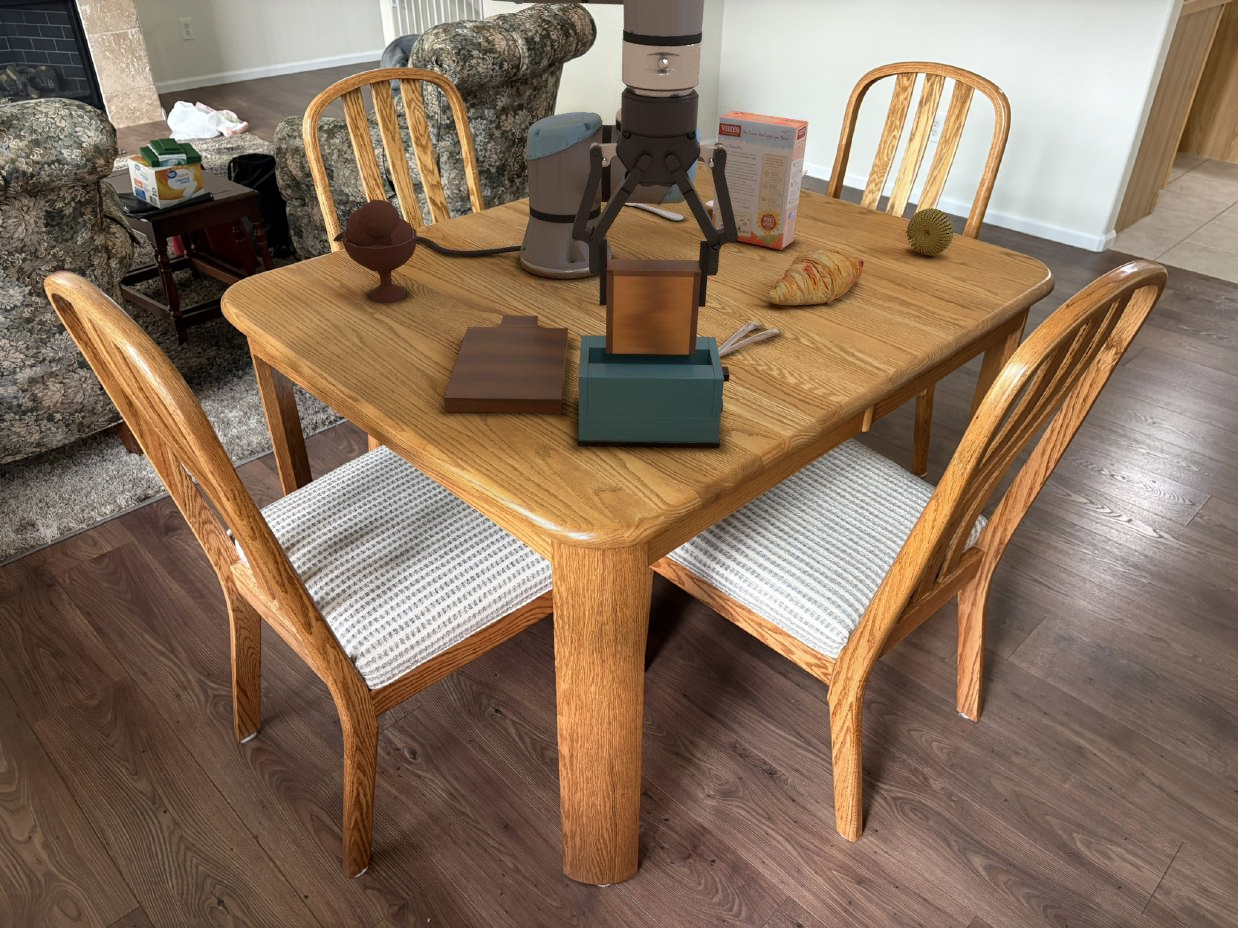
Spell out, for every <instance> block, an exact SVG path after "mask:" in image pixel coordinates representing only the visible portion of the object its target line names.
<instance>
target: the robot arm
mask: <svg viewBox="0 0 1238 928" xmlns="http://www.w3.org/2000/svg"><path fill="white" fill-rule="evenodd" d="M493 1H494V2H503V3H504V2H507V3H514V4H516V5H523V4H576V5H577V4H581V5H582V4H583V5H584V4H585V5H586V4H589V5H614V6H615V5H616V6H617V5H618V6H620V5H622V6H623V29H622V43H621V44H622V45H621V82H622V83H623V84H624V85H625V88H624V89H623V90H622V92H621V96H620V97H621V102H620V104H621V107H620V108H619V109H618V110H617V111H616V113H615V124H603V123H604V122H603V118H602V117H601V115H600V114H599V113H597V112H587V111H574V112H573V111H572V112H564V113H559V114H554V115H549V116H546V117H544V118H542V119H539V120H537V121H535V122H534V123H533V124H531V126H529V128H528V131H527V133H526V134H527V135H526V152H525V159H526V160H527V178H528V179H527V183H528V209H529V210H528V211H529V214H528V215H529V216H528V222H527V225H526V228H525V232H524V236H523V241H522V243H521V245H512V246H511V245H510V246H504V247H498V248H489V249H486V248H485V249H475V250H474V249H473V250H461V249H460V250H459V249H457V250H456V249H451V248H450V249H449V248H445V247H443V246H440V245H439V244H438V243H436V242H435V241H433V240H431V239H430V238H427V237H425V236H424V237H423V236H420V235H417V239H416V243H422V244H425V245H427V246H429V247H431V248H432V249H433V250H435V251H436V252H438V253H440V254H443V255H447V256H453V257H477V256H478V257H479V256H490V255H491V256H492V255H501V254H507V253H517V252H519V259H520V260H519V263H520V266H521V268H522V269H524V270H525V271H526V272H527V273H530V274H533V275H536V276H539V277H543V278H548V279H558V280H575V279H584V278H589V277H593V276H596V275H599V307H601V306H603V307H604V306H605V307H606V275H607V259H613V252H612V247H611V245H610V239H609V237H608V236H607V233H608V231H609V230H610V228H611V227H612V225H613V223H614V222H615V221H616V219H617V217H618V216H619V214H620V212H621V210H622V209H623V207H624V206H625V205H626V204H625V203H639V204H644V205H657V206H662V205H666V204H669V205H670V204H681V203H683V202H685V201H686V203H687V206H688V207H689V210H690V211H691V213H692V215H693V217H694V219H695V221H696V223H697V224H698V226H699V228H700V230H701V232H702V234H703V236H704V238H705V240H700V242H699V254H698V255H699V256H698V260H699V263H700V268H701V281H700V295H699V308H706V301H707V286H708V277H709V276H710V277H712V276H714V277H715V276H717V274H718V273H719V263H720V262H719V261H720V250H721V249H722V247H723V246H724V245H726V244H730V243H731V244H734V243H737V242H738V241H737V240H738V233H737V228H736V223H735V219H734V214H733V209H732V205H731V200H730V195H729V191H728V186H727V181H726V177H725V166H726V159H727V152H726V150H725V147H724V145H723V144H722V143H720V142H719V143H718V142H716V143H714V145H712V144H701V130H700V128H699V127H698V117H699V116H698V115H699V113H698V112H699V101H700V100H699V98H700V95H699V93H698V92H697V90H696V89H694V88H696V87H698V85H699V84H700V81H701V65H702V64H701V62H702V61H701V60H702V44H703V22H704V20H703V19H704V9H705V8H704V7H705V0H491V2H493ZM699 158H702V159H703V160H704V165H705V167H706V168H707V169H710V170H711V171H710V172H711V176H712V180H713V184H714V187H715V190H716V194H717V199H718V203H719V208H720V212H721V217H722V221H723V226H724V228H722V229H719V230H716V228H715V226H714V224H713V222H712V217H711V216H710V214H709V212H708V211H707V210H708V209H706V205H704V203H703V200H702V199H701V197H700V195H699V193H698V191H697V189H696V187H695V186H694V185H695V184H694V182H695V177H696V172H697V168H698V161H699ZM602 203H606V204H605V206H604V207H603V209H602ZM345 232H346V230H344V231H341V232H339V233H337V235H336V236H334V237H333V240H332V241H333V242H339V241H342V240H343V234H344V233H345Z"/></svg>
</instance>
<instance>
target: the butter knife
mask: <svg viewBox="0 0 1238 928" xmlns="http://www.w3.org/2000/svg"><path fill="white" fill-rule="evenodd" d="M624 205H627V206H630V207H631V206H634V207H636V208H638V209H642V210H646V211H647V212H650V213H654V214H656V215H658V216H661V217H663V218H666V219H668V220H671V221H674V222H675V221H676V222H677V221H678V222H679V221H682V220H684V216H683V215H682V214H678V213H675V212H672V211H669V210H664V209H660V208H656V207H653V206H650V205H648V204H643V203H625V204H624Z"/></svg>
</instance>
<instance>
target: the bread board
mask: <svg viewBox="0 0 1238 928" xmlns="http://www.w3.org/2000/svg"><path fill="white" fill-rule="evenodd" d="M464 333H465V334H464V337H463V340H462V343H461V345H460V349H459V352H458V355H457V358H456V361H455V364H454V367H453V370H452V374H451V377H450V379H449V383H448V386H447V389H446V392H445V395H444V406H445V412H446V413H451V412H452V413H499V414H500V413H509V414H514V413H515V414H520V413H521V414H561V413H562V407H563V396H564V387H565V377H566V368H567V359H568V358H567V357H568V349H569V327H539V316H538V315H522V314H521V315H517V314H515V315H514V314H503V315H502V317H501V322H500V326H467V327H466V329H465V332H464Z"/></svg>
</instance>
